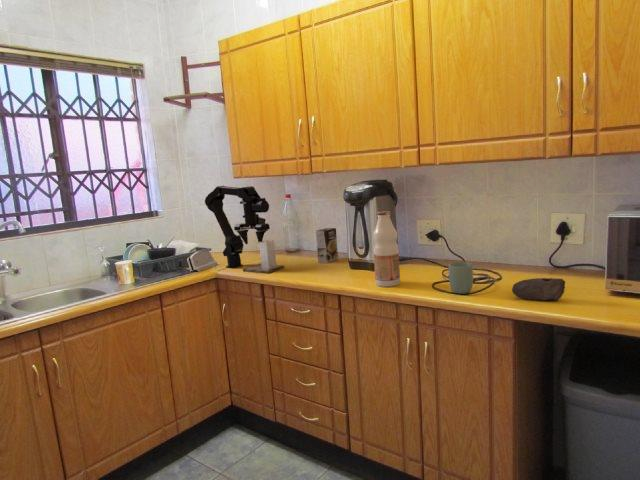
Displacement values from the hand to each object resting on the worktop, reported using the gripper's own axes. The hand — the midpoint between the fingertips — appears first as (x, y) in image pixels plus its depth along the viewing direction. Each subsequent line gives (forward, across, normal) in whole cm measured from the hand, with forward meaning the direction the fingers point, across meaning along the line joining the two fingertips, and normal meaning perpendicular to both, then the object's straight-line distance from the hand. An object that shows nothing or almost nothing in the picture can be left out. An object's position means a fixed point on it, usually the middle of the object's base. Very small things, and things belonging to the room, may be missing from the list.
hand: (253, 244), depth 219 cm
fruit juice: (+12, -75, +6) cm, 76 cm away
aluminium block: (+11, -10, +2) cm, 15 cm away
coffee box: (+12, -27, -24) cm, 38 cm away
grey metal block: (+12, +31, +7) cm, 34 cm away
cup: (+12, -104, +8) cm, 105 cm away
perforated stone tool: (+12, -128, +8) cm, 129 cm away
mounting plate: (+12, -6, +1) cm, 13 cm away
